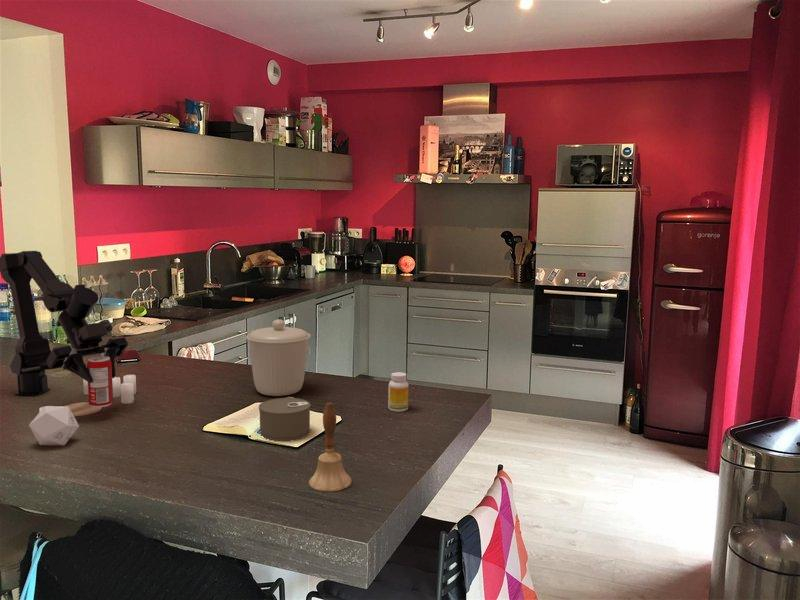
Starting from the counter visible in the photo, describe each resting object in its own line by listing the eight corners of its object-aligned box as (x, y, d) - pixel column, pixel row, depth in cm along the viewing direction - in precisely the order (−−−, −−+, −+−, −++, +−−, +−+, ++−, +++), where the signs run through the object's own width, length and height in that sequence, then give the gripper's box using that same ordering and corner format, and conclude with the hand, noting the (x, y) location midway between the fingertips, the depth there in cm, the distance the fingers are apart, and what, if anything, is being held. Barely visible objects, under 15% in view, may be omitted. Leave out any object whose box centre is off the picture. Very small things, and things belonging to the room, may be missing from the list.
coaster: (50, 415, 164) (50, 413, 164) (72, 403, 174) (71, 401, 174) (89, 416, 164) (89, 414, 164) (108, 404, 174) (108, 402, 173)
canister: (234, 395, 184) (232, 322, 181) (269, 380, 200) (269, 312, 197) (289, 404, 177) (289, 327, 174) (322, 387, 194) (322, 317, 191)
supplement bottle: (385, 406, 176) (385, 372, 175) (404, 405, 178) (404, 370, 176) (392, 412, 171) (392, 377, 170) (411, 411, 173) (411, 375, 171)
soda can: (105, 399, 167) (103, 353, 165) (117, 404, 163) (115, 357, 162) (84, 404, 162) (82, 357, 160) (96, 409, 159) (94, 361, 157)
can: (254, 428, 158) (254, 400, 157) (302, 422, 163) (302, 395, 162) (265, 444, 147) (264, 415, 146) (316, 438, 152) (316, 409, 151)
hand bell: (300, 487, 125) (300, 406, 123) (321, 471, 133) (321, 395, 130) (340, 495, 122) (340, 412, 120) (358, 478, 130) (359, 400, 127)
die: (46, 456, 140) (75, 416, 142) (13, 433, 141) (43, 394, 143) (65, 456, 148) (93, 418, 150) (34, 434, 149) (62, 397, 151)
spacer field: (16, 429, 154) (15, 409, 153) (89, 390, 187) (88, 373, 186) (88, 431, 153) (87, 411, 152) (148, 392, 186) (148, 375, 185)
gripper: (50, 314, 154) (77, 368, 149) (123, 305, 169) (149, 354, 164) (35, 342, 160) (61, 394, 155) (107, 331, 175) (132, 378, 170)
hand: (103, 379), depth 161 cm, fingers closed on soda can, 5 cm apart
